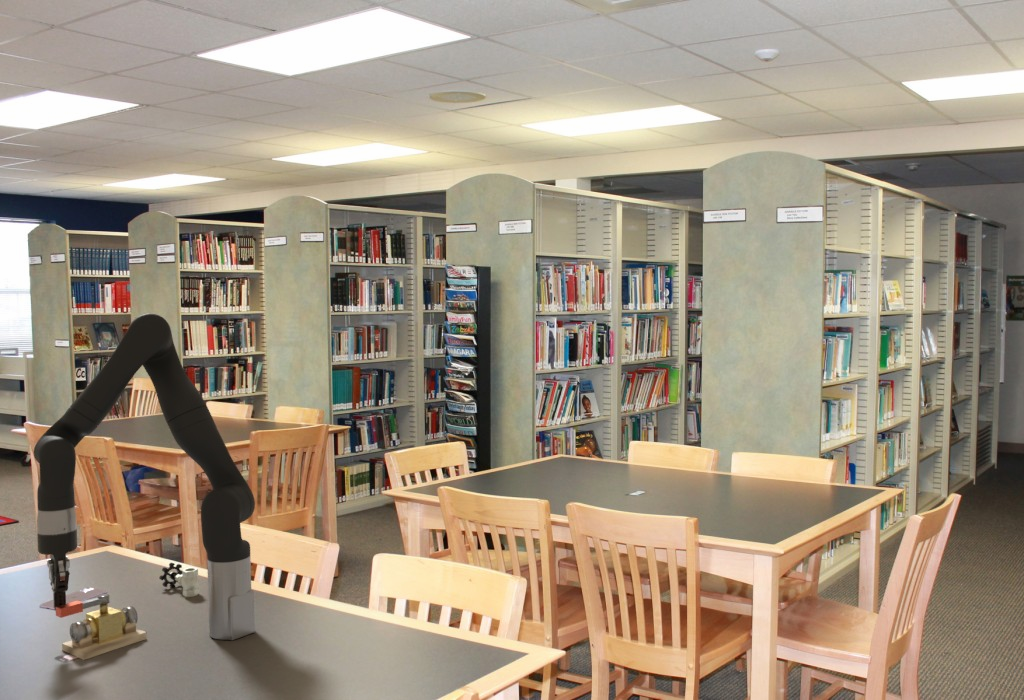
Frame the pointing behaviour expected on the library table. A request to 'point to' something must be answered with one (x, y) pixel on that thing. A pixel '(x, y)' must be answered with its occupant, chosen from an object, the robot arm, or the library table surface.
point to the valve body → (103, 624)
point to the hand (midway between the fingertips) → (59, 608)
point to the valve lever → (80, 605)
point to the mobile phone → (76, 597)
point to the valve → (182, 579)
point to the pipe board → (91, 649)
